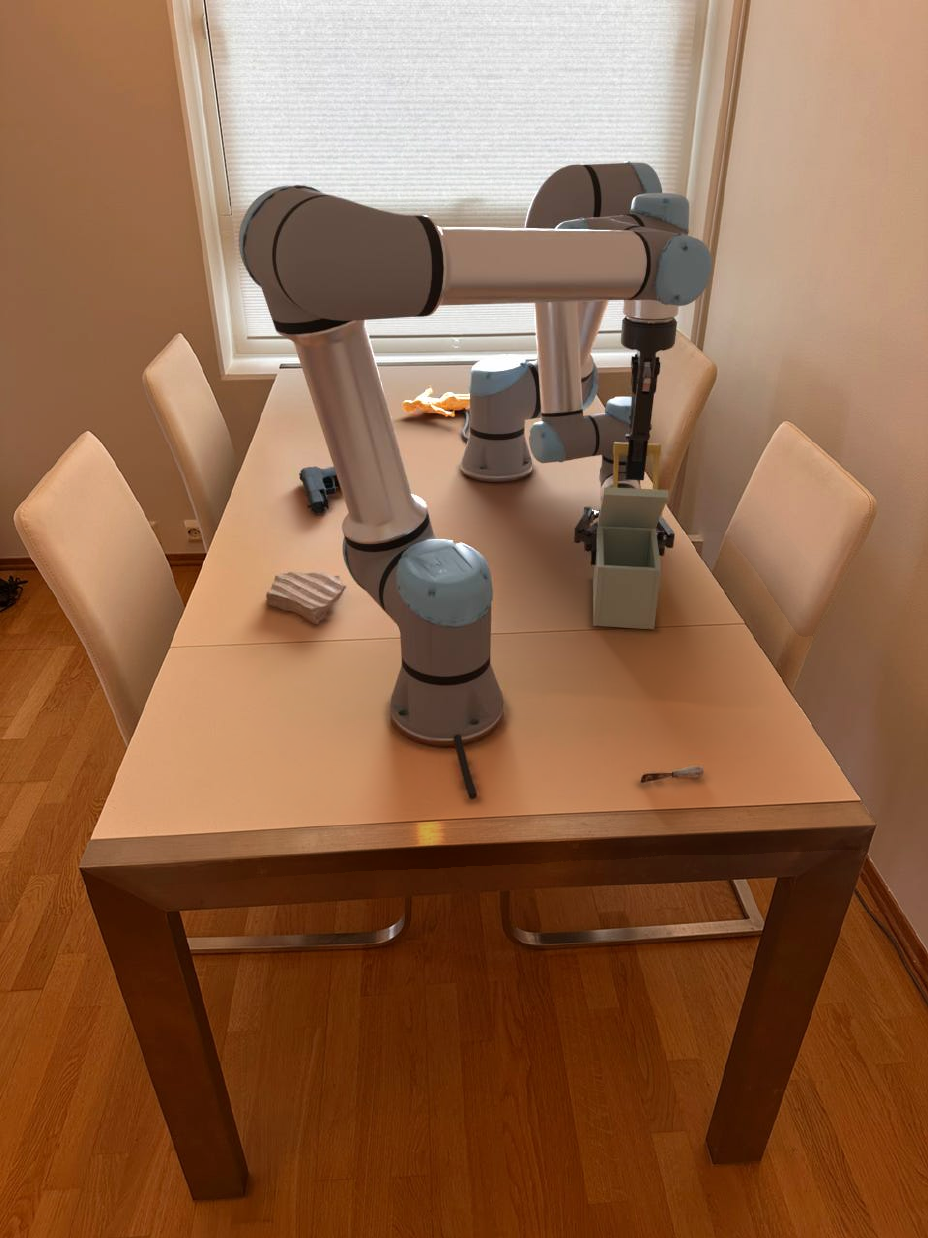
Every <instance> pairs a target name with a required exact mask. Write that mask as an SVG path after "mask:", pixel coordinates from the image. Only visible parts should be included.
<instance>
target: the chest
mask: <svg viewBox="0 0 928 1238" xmlns="http://www.w3.org/2000/svg"><path fill="white" fill-rule="evenodd" d="M592 577H593V578H592V612H593V613H592V625H593V626H594V627H607V628H625V629H640V630H655V623H656V616H657V610H658V609H657V607H658V601H659V593H660V585H661V577H662V565H661V556H660V557H659V550H658V543H657V536H656V529H650V528H631V527H611V526H598V528H597V553H596V564H595V565H593V576H592Z"/></svg>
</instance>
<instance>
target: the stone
mask: <svg viewBox="0 0 928 1238" xmlns="http://www.w3.org/2000/svg"><path fill="white" fill-rule="evenodd" d="M346 589H347V585H346V583H345V582H343V580H341V579H340V575H332V574H329V573H326V572H320V571H318V572H315V571H314V572H308V573H306V572H300V571H289V572H287V573H281V572H279V573H277V574H275V576H274V579H273V581H272V584H271V587H270V590H268V591H267V592H266V594H265V597H266V600H265V604H266V605H267V606H268V605H269V606H271V607H275V608H278V609H281V610H282V611H289V612H292V613H296V614H297V615H299V616H301V617H302V618H304V619H305V620H307V621H309V622H311V623H312V624H315V625H319V624H320V622H321V621H323V620H324V619H325V618H326V615H327V612H328V611H329V609H330V607H332V606H333V605H334V603H335V602H336V601H338V600H339V599H340V598H341V596H342V595H343V593H344V591H345V590H346Z"/></svg>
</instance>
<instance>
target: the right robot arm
mask: <svg viewBox="0 0 928 1238" xmlns="http://www.w3.org/2000/svg"><path fill="white" fill-rule="evenodd" d="M646 193H663V187H662V183H661V180H660V178H659V175H658V173H657V172H656V170H655V169H654V168H653V167H652V166H651V165H649V164H648V163H646V162H630V161H629V160H626V161H624V162H615V163H613V162H612V163H589V164H588V163H587V164H580V163H576V164H568V165H565V166H563V167H560V168H558V169H556V170H555V171H553V172H552V173H550V175H549V176H547V177H546V178H545V179H544V181H543V182H542V183H541V184H540V186H539V187H538V188H537V190H536V192H535V194H534V196H533V198H532V200H531V202H530V205H529V208H528V211H527V214H526V219H525V223H524V227H523V229H555V228H556V227H557V226H558V225H559V224H561V223H562V222H565V221H571V220H576V219H579V218H581V217H582V218H596V217H609V216H621V215H626V214H629V213H630V210H631V208H632V201H633V199H634V197H636V196H637V195H641V194H646ZM609 302H610V300H606V301H574V302H542V303H533V314H534V315H533V316H534V326H535V343H536V354H537V355H536V356H537V358H536V360H533V361H527V360H526V359H525V357H523V356H521V355H517V354H508V355H506V354H499V355H494V356H489V357H486V358H484V359H481V360H480V361H478V362H476V363H475V364H474V365H473V366H472V368H471V370H470V374H469V385H468V394H469V396H470V406H469V412H468V410H467V408H464V409H462V410H461V411H463V413H464V414H465V423H464V426H463V429H462V431H461V435H462V437H463V439H465V440H466V441H467V442H466V444H465V448H464V451H463V454H462V457H461V462H460V464H461V465H460V466H461V471H462V474H464V475H465V476H466V477H469V478H471V479H473V480H475V481H476V480H477V481H479V482H480V481H481V482H487V483H507V482H508V483H509V482H514V481H518V480H521V479H524V478H525V477H527V476H528V475H530V474H531V472H532V470H533V458H534V459H535V460H536V461H537V462H539V463H541V464H551V463H563V462H567V461H573V460H579V459H585V458H590V457H598V456H601V465H600V469H599V477H598V478H599V482H600V502H601V501H602V496H603V490H604V487H612V488H613V469H614V455H613V447H614V442H618V443H628V440H627V439H626V434H629V431H631V429H630V427H629V424H630V419H629V415H630V412H631V400H632V396H615V397H613V398H610V399H609V400H607V402H606V404H605V408H604V412H601V413H593V414H587V415H584V411H585V410H586V409H588V408H590V406H591V405H593V403H594V401H595V399H596V396H597V394H598V390H599V384H598V381H599V370H598V368H597V365H596V362H594V358H593V355H592V354H591V353H592V351H593V347H594V345H595V342H596V339H597V337H598V334H599V331H600V329H601V328H600V327H601V326H602V322H603V319H604V317H605V313H606V311H607V308H608V305H609ZM443 395H444V394H441V395H440V398H441V397H442V396H443ZM533 419H541V420H540V421H538V422H534V423H533V424H532V425H531V427H530V429H529V436H528V442H527V439H526V434H525V430H526V428H525V427H526V421H527V420H533ZM468 427H469V436H467V435H466V431H467V429H468ZM528 443H529V445H528ZM529 448H530V449H529ZM530 452H531V453H530ZM531 454H532V455H531ZM532 457H533V458H532ZM626 458H627V455H619V468H618V488H634V489H642V485H641V480H626V473H625V469H626ZM599 512H600V508H599V509H598V510H594V509H592V508H591V507H590V506H584V507H583V514H582V516H581V518H580V519H579V520H578V522H577V524H576V525H575V527H574V532H573V543H575V544H580V543H581V542H582V543H583V550H584V552H587V553H588V552H589V553H590V566H594V565H595V564H596V553H597V528H598V526H599V525H598V520H597V521H596V522H594V521H595V520H596V519H598V517H599ZM591 524H592V525H591ZM611 527H619V526H611ZM631 528H639V527H631ZM650 529H656V536H657V543H658V550H659V557H660V558H661V557H662V556H664V555H665V551H666V548H667V549H673V548H674V545H675V543H674V542H675V536H676V534H675V532H674V531H673V529H672V528H671V527H670V525H669V523H667V521H666V520H665V518H664V516H663V513H662V514H661V517H660V519H659V522H658V524H657V526H656V528H650Z"/></svg>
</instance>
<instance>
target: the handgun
mask: <svg viewBox="0 0 928 1238" xmlns="http://www.w3.org/2000/svg"><path fill="white" fill-rule="evenodd" d="M298 475H299V480H300V481H301V482H302V485H303V488H304V493H305V495H306V499H307V500H308V505H306V508H308V509H310V510H311V512H312V514H314V515H322V514H324V513H325V508H326V509H327V511H328V510H329V509H330V507H329V506H330V505H329V498H328V496H332V495H335V494H336V492H337V491H336V488H341V487H340V484H339V481H338V478H337V475H336V471H335V468H334V465H333V466H330V467H326V468H320V467H318V466H308V467H303V468H302V469H301V470H300V472H298Z"/></svg>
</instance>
